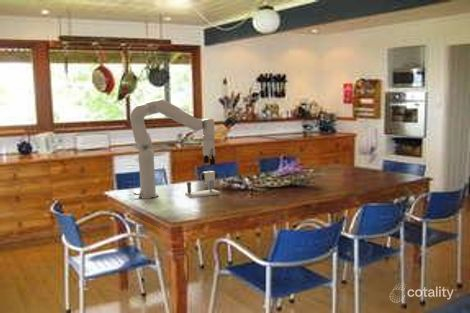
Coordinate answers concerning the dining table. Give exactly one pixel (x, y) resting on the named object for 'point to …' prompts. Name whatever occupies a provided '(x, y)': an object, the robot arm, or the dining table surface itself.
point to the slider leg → (210, 184)
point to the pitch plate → (199, 192)
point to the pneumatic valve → (208, 176)
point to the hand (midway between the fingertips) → (209, 163)
